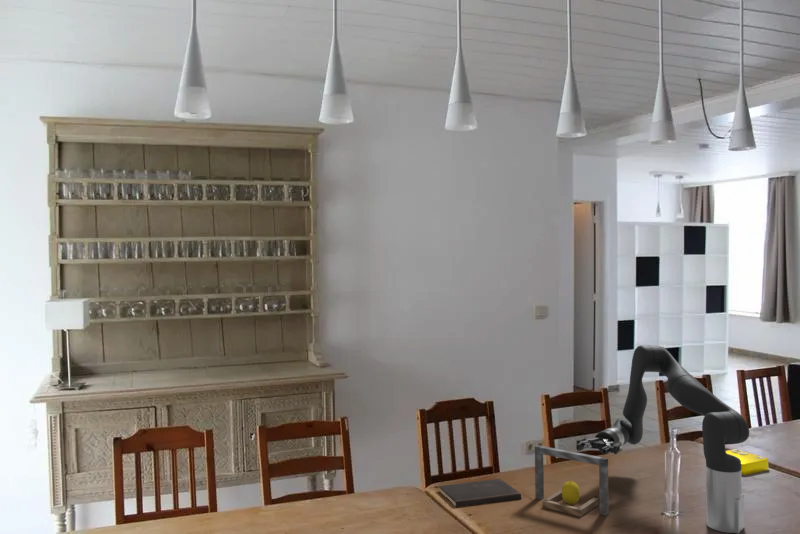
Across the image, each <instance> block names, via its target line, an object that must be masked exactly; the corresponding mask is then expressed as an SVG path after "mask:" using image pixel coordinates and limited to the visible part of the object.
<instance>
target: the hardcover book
mask: <svg viewBox="0 0 800 534" xmlns="http://www.w3.org/2000/svg"><path fill="white" fill-rule="evenodd" d="M438 488H439V492H440V493H441V494H442V495H443V496H444V497H445V498H446V497H447V498H448V499H449V500H450V501H451V502H452V505H454V507H455V508H461V507H460V506H464V507H467V506H466V505H471V506H475V505H474V504H479V505H485V504H484V503H487V504H493V503H501V502H508V501H509V502H510V501H516V500H522V494H521V492H519V491H518V490H516V489H515V488H514V487H513V486H511V485H510V484H508V483H507V482H505V481H504V480H503V479H501V478H493V479H486V480H485V479H484V480H477V481H470V482H459V483H453V484H445V485H443V484H442V485H438ZM447 498H446V499H447ZM448 499H447V500H448ZM449 500H448V501H449ZM450 501H449V502H450ZM451 502H450V503H451Z"/></svg>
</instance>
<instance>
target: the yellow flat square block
mask: <svg viewBox="0 0 800 534" xmlns="http://www.w3.org/2000/svg"><path fill="white" fill-rule="evenodd" d="M726 453H727V454H730V455H733V456H735V457H737V458H739V459H740V460H741V476H742V475H743V476H746V475H751V474H756V473H761V472H766V471H769V458H767V457H765V456H760V455H758V454H753V453H750V452H746V451H744V450H740V449H736V448H734V449H729V450H726Z"/></svg>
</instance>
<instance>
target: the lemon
mask: <svg viewBox="0 0 800 534" xmlns="http://www.w3.org/2000/svg"><path fill="white" fill-rule="evenodd" d="M561 490H562V497H563V498H562V499H563V501H564V502H565V503H567V505H570V506H573V505H574V504H577V503H578V501H579V500H580V495H581V492H580V488H579V485H578V484H577V483H576V482H574V481H572V480H569V481H566V482H564V483H563V485H562V488H561Z"/></svg>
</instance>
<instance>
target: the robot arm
mask: <svg viewBox="0 0 800 534" xmlns="http://www.w3.org/2000/svg"><path fill="white" fill-rule="evenodd" d="M645 373H660V374H661V375H664V376H665V377H666V378H667V381H666V387H667V391H668V393H669V394H670V395H671V397H672V398H673V399H674V400H675V401H676V402H677V403H678V404H679V405H681V406H682V408H685V409H687V410H689V411H691V412H694V413H695V414H699V415H701V416H703V419H702V424H701V428H702V429H701V430H702V443H703V444H702V445H703V455H704V460H705V482H706V483H705V485H706V488H705V489H706V492H705V493H706V496H705V497H706V501H705V503H706V516H705V517H706V525H707V527H709V528H710V529H711V530H715V531H718V532H722V533H728V534H731V533H733V534H734V533H735V534H741V532H742V531H743V529H744V528H745V501H744V500H745V495H744V494H743V493H742V492H743V491H742V489H743V488H742V487H743V484H742V483H743V482H742V475H741V460H740V459H739V458H737V457H735V456H733V455H730V454H727V453H726V451H727V450H726V446H727V445H737V444H742V443H744V442H746V441H747V440H748V439H749V436H750V427H749V425H748V423H747V421H746V419H745V418H744V417H743V416H742V415H741V414H740V413H739V412H738V411H736V410H735V409H734V408H733V407H731V406H730V405H727V404H726V403H725V402H723V400H720V398H718V396H716V395H714V394H713V393H712V392H711V391H710V390H709V389H708V388H707V387H705V386H704V385H703V384H702V383H701V382H700V380H697V379H696V377H694V376H693V375H692V374H691V373H690V372H688V371H687V369H685V368H684V366H682V365H681V364H680V363H679V362H678V361H677V360H676V358H674V356H673V355H672V353H670V351H668V349H666V347H664V346H661V345H651V344H650V345H649V344H648V345H647V344H643V345H639V346H637V347H636V348H635V349H634V352H633V355H632V359H631V367H630V375H629V386H628V391H627V395H626V400H625V402H624V406H623V410H622V416H623V417H624V418H617V419H616V420H615V422H614V423H613V425H612V426H611V427H608V428H606V429H604V430H601V431H598V432H597V434H595V436H594V438H587V437H585V436H584V437H581V438H579V439H577V440H576V447H575V449H576V450H577V452H581V451H583V450H588V451H591V450H592V451H593V450H595V451H598V452H600V453H601V456H605V455H608V454H612V453H613V455H618V454H619V453H621V452H622V451H623V446H624V445H626V444H627V443H628V444H629V445H634V446H635V445H637V444H639V443H640V442H641V440H642V438H643V435H644V428H643V421H644V420H643V418H644V415H645V411H646V408H647V403H648V396H647V393H646V390H645V387H644V384H643V377H644V375H645Z"/></svg>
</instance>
